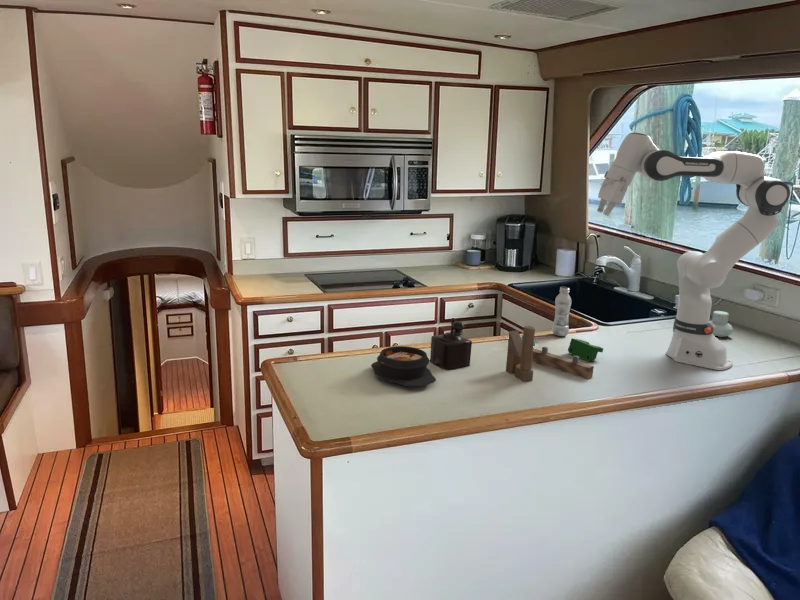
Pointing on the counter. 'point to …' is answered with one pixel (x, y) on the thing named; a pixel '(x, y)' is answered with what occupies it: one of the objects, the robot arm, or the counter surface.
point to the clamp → (584, 349)
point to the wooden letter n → (521, 354)
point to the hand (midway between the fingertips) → (602, 213)
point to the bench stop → (562, 363)
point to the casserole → (404, 366)
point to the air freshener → (721, 324)
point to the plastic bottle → (562, 312)
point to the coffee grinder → (451, 348)
